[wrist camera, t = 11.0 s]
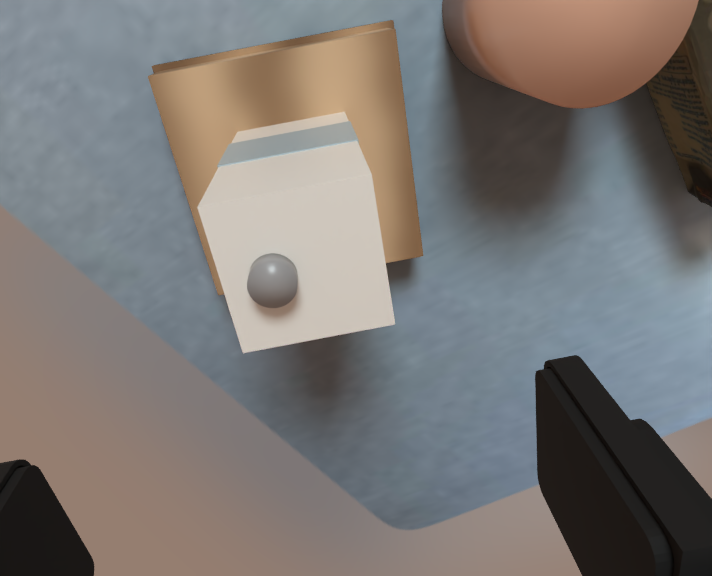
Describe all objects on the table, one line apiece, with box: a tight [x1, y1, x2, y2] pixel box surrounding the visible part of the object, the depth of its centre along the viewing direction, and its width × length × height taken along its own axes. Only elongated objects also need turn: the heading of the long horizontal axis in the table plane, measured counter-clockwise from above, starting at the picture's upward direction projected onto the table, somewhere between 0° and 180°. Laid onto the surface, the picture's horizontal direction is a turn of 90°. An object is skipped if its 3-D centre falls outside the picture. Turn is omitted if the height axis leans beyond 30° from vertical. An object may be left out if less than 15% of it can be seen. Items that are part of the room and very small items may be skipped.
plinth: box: [148, 20, 423, 295], centre depth 30 cm, size 13×13×3 cm
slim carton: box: [197, 112, 395, 353], centre depth 23 cm, size 6×6×13 cm
